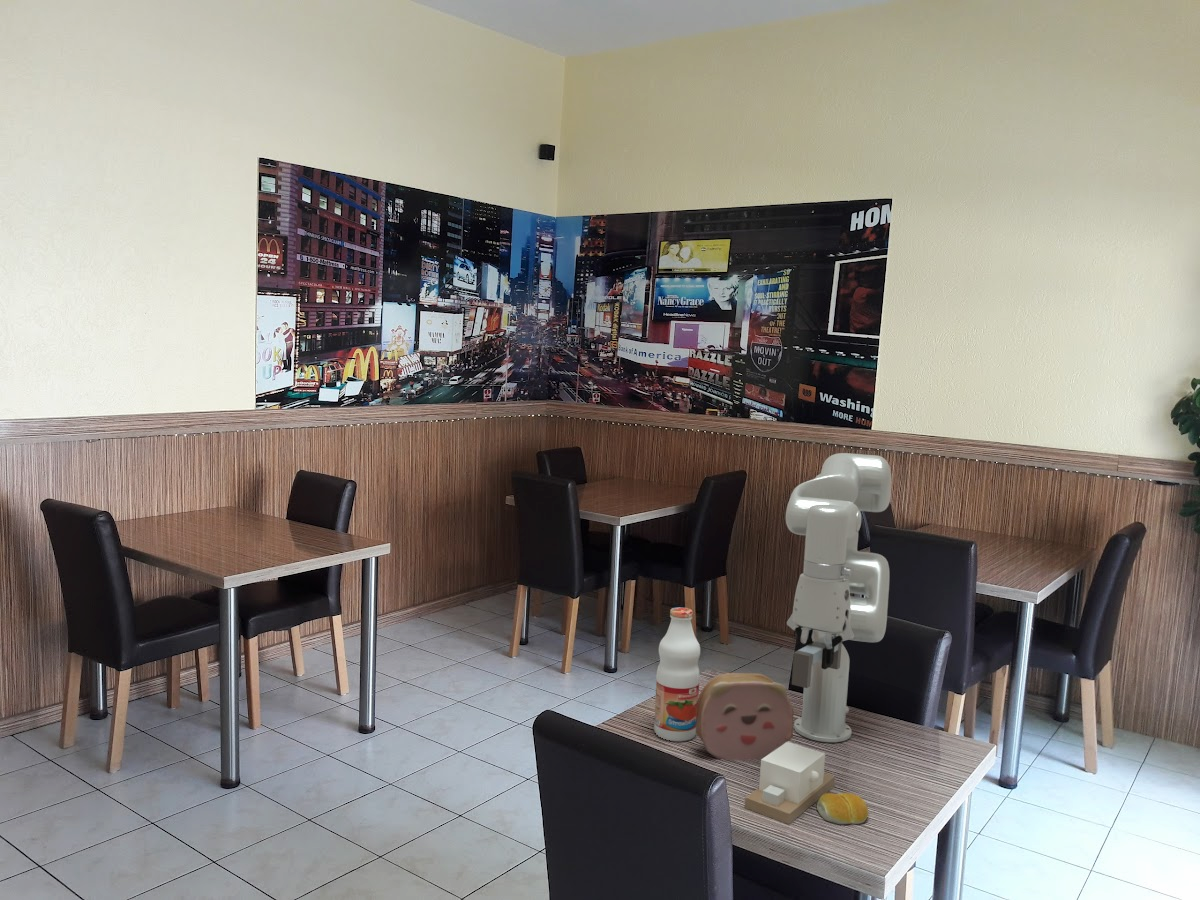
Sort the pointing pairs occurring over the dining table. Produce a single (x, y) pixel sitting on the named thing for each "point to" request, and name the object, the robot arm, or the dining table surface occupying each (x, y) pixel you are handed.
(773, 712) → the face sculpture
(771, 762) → the white block on board
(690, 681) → the fruit juice
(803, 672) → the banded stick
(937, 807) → the dining table surface
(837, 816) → the bread roll
